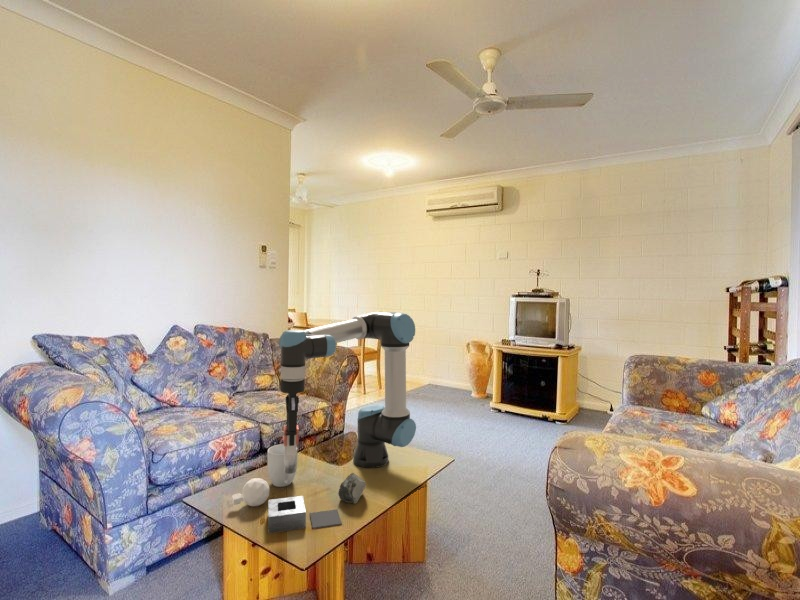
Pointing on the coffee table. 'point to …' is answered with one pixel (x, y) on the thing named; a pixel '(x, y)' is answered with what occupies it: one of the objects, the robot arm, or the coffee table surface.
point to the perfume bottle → (253, 493)
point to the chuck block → (286, 514)
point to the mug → (278, 466)
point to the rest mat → (325, 519)
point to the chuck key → (289, 460)
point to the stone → (351, 488)
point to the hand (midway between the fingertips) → (290, 452)
